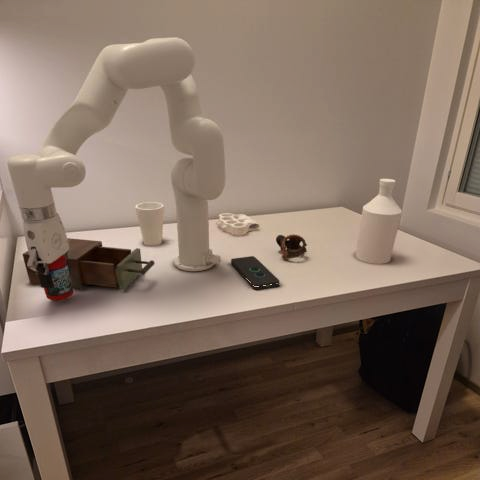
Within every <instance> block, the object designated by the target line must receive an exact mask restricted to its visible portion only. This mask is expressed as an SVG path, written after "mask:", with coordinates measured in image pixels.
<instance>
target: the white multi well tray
mask: <svg viewBox="0 0 480 480" xmlns="http://www.w3.org/2000/svg"><path fill="white" fill-rule="evenodd" d="M215 224H216V225H218V226H219V228H220V229H222V230H223V232H225V233H228V234H231V235H232V236H238V237H239V236H245V235H247V233H248V232H253V231H256V230H258V229H260V226H261V225H260V223H259V222H257V221H255V220H254V219H252V218H251V217H250V216H248V215H246V214H245V213H243V214H242V213H241V214H235V213H234V214H233V213H228V212H226V213H220V214H219V215H218V222H216V223H215Z"/></svg>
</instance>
